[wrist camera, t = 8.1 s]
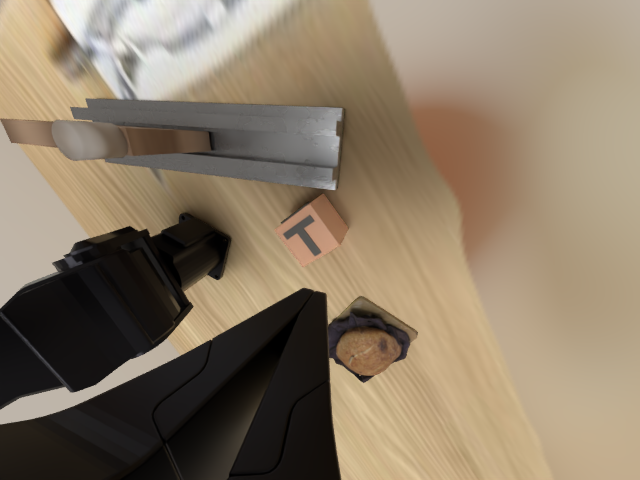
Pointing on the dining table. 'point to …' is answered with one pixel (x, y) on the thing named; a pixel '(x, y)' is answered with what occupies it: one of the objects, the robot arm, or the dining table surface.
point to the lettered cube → (312, 230)
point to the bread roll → (368, 339)
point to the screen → (104, 138)
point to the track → (237, 138)
